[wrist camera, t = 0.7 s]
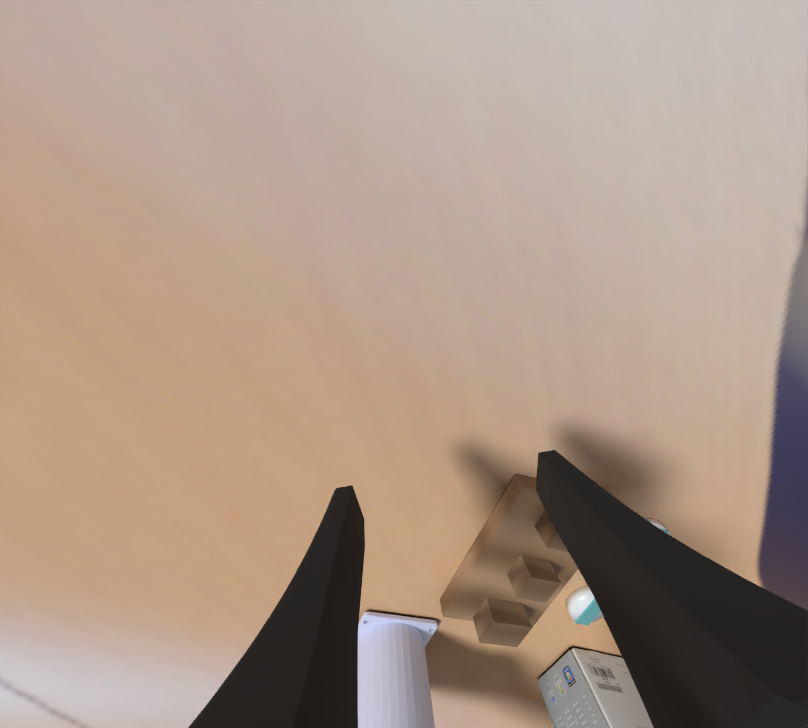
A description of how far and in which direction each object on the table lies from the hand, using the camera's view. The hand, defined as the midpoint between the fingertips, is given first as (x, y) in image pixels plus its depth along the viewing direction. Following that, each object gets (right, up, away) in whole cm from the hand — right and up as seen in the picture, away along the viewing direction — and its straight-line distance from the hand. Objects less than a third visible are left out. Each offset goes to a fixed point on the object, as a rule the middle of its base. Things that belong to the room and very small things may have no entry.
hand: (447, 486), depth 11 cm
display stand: (+9, -13, +17) cm, 23 cm away
